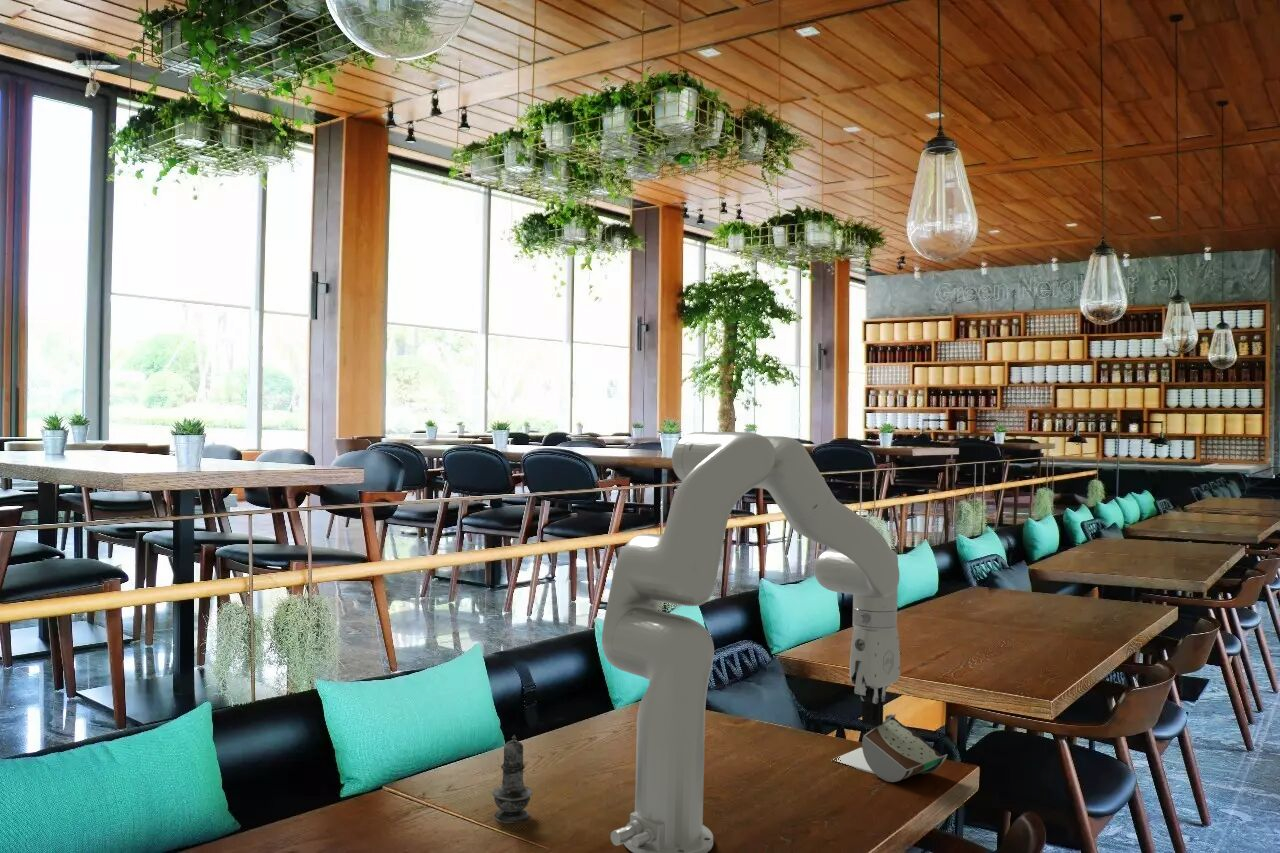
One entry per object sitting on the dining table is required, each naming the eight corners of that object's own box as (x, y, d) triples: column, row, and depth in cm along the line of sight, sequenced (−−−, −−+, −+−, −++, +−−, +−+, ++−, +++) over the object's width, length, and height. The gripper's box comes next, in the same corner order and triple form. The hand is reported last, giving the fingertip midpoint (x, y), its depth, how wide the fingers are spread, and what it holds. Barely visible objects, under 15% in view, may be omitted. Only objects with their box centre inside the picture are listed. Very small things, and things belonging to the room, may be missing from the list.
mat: (887, 777, 159) (887, 776, 159) (831, 761, 167) (831, 759, 167) (915, 764, 166) (915, 762, 166) (860, 749, 174) (860, 747, 174)
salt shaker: (512, 805, 143) (514, 726, 143) (540, 816, 139) (542, 734, 140) (483, 816, 138) (485, 735, 139) (510, 828, 135) (513, 744, 135)
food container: (904, 805, 155) (940, 784, 161) (914, 777, 153) (950, 756, 159) (848, 757, 164) (884, 739, 170) (856, 730, 161) (892, 712, 167)
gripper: (872, 627, 156) (869, 738, 156) (914, 616, 167) (912, 720, 167) (833, 620, 161) (830, 727, 161) (876, 610, 172) (874, 711, 172)
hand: (872, 723), depth 164 cm, fingers closed
